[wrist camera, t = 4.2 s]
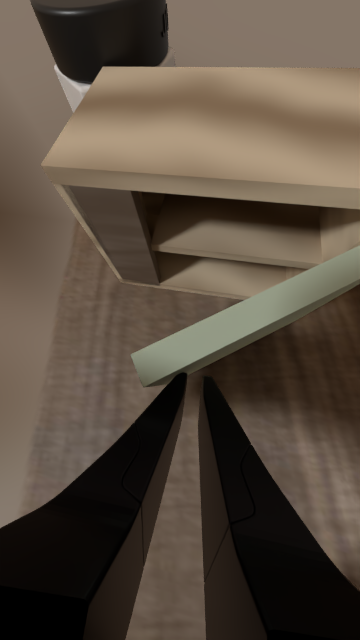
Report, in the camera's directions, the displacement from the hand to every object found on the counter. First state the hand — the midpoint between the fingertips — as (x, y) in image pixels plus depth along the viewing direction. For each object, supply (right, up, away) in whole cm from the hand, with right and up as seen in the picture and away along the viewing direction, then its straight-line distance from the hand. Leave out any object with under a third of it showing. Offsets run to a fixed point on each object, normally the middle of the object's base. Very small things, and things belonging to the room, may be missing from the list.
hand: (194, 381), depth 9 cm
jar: (-5, +19, +14) cm, 24 cm away
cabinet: (+2, +9, +10) cm, 14 cm away
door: (+4, +1, +6) cm, 7 cm away
